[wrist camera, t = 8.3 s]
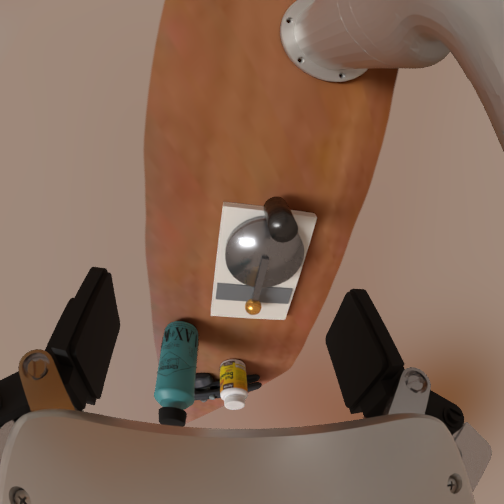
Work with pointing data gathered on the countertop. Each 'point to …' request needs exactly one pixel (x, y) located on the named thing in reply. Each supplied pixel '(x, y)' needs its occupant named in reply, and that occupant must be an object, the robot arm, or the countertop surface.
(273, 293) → the stand
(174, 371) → the beverage bottle
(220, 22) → the countertop surface
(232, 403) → the supplement bottle
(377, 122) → the countertop surface
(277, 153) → the countertop surface
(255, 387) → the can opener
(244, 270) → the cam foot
